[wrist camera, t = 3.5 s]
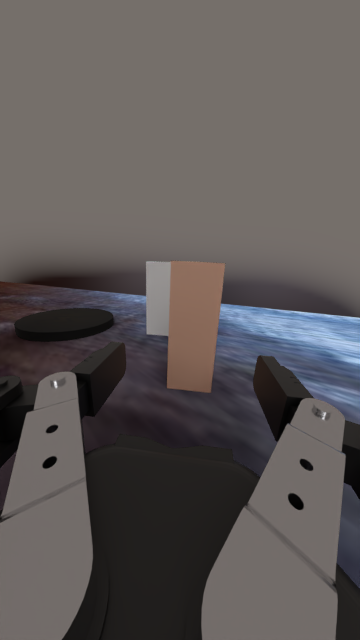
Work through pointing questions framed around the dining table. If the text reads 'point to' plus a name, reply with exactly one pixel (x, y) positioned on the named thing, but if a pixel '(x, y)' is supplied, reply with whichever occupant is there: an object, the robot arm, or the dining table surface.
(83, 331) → the wireless charger
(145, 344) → the dining table surface
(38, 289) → the dining table surface
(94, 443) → the dining table surface
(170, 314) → the terracotta block
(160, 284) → the light grey block
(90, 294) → the dining table surface
